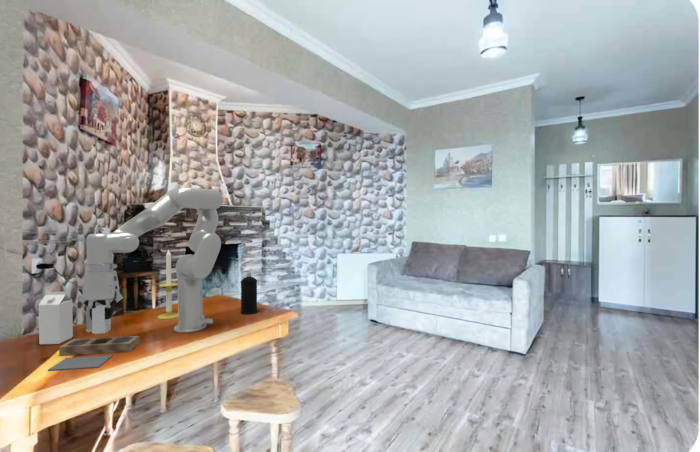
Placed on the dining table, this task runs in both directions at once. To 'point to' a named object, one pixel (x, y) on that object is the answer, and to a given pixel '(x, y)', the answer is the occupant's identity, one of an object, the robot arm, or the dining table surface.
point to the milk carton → (55, 318)
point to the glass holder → (88, 318)
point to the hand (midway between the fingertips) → (101, 318)
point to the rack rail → (99, 345)
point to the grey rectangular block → (100, 320)
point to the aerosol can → (248, 295)
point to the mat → (80, 363)
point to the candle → (168, 290)
